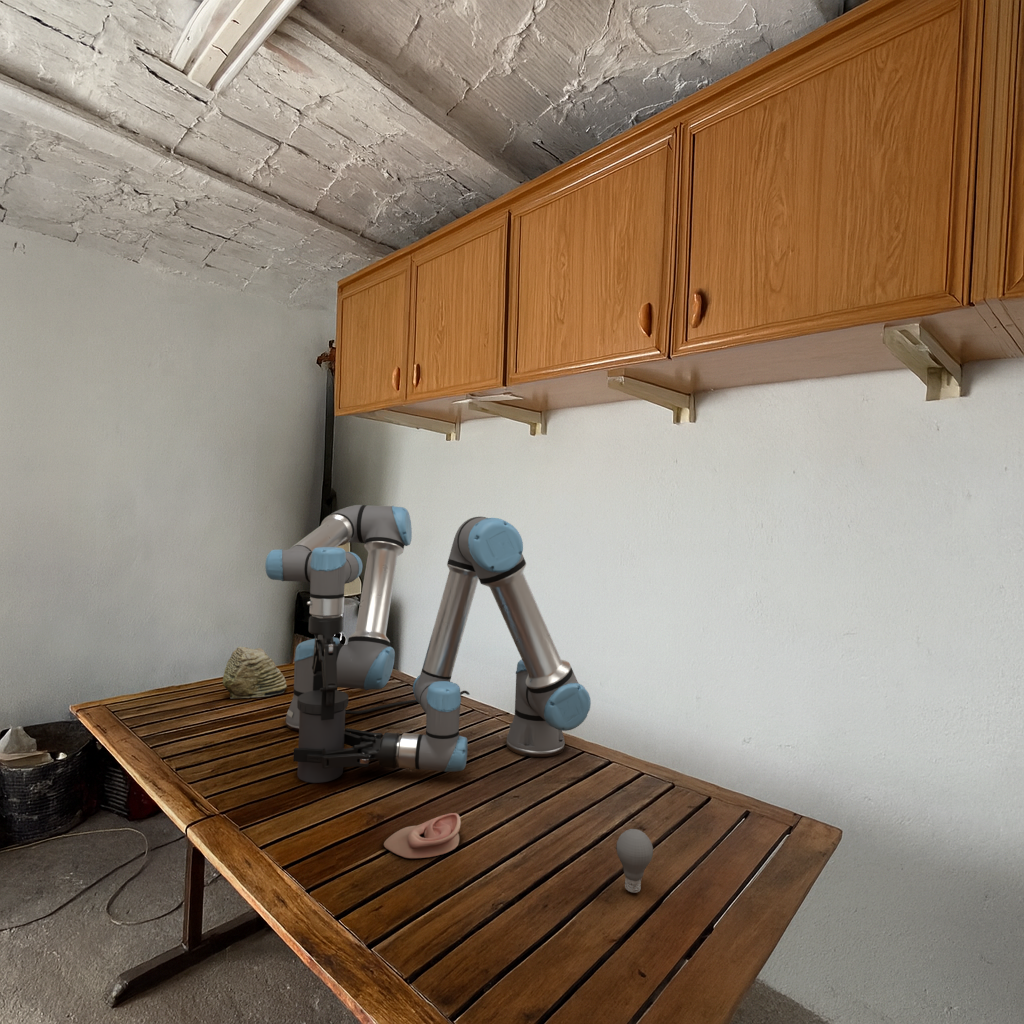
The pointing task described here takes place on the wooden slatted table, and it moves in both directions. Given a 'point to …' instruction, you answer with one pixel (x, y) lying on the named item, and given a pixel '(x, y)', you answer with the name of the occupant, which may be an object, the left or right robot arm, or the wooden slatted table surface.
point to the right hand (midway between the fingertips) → (302, 745)
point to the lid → (312, 701)
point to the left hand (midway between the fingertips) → (322, 710)
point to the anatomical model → (426, 838)
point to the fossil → (252, 674)
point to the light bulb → (634, 857)
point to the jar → (320, 744)
